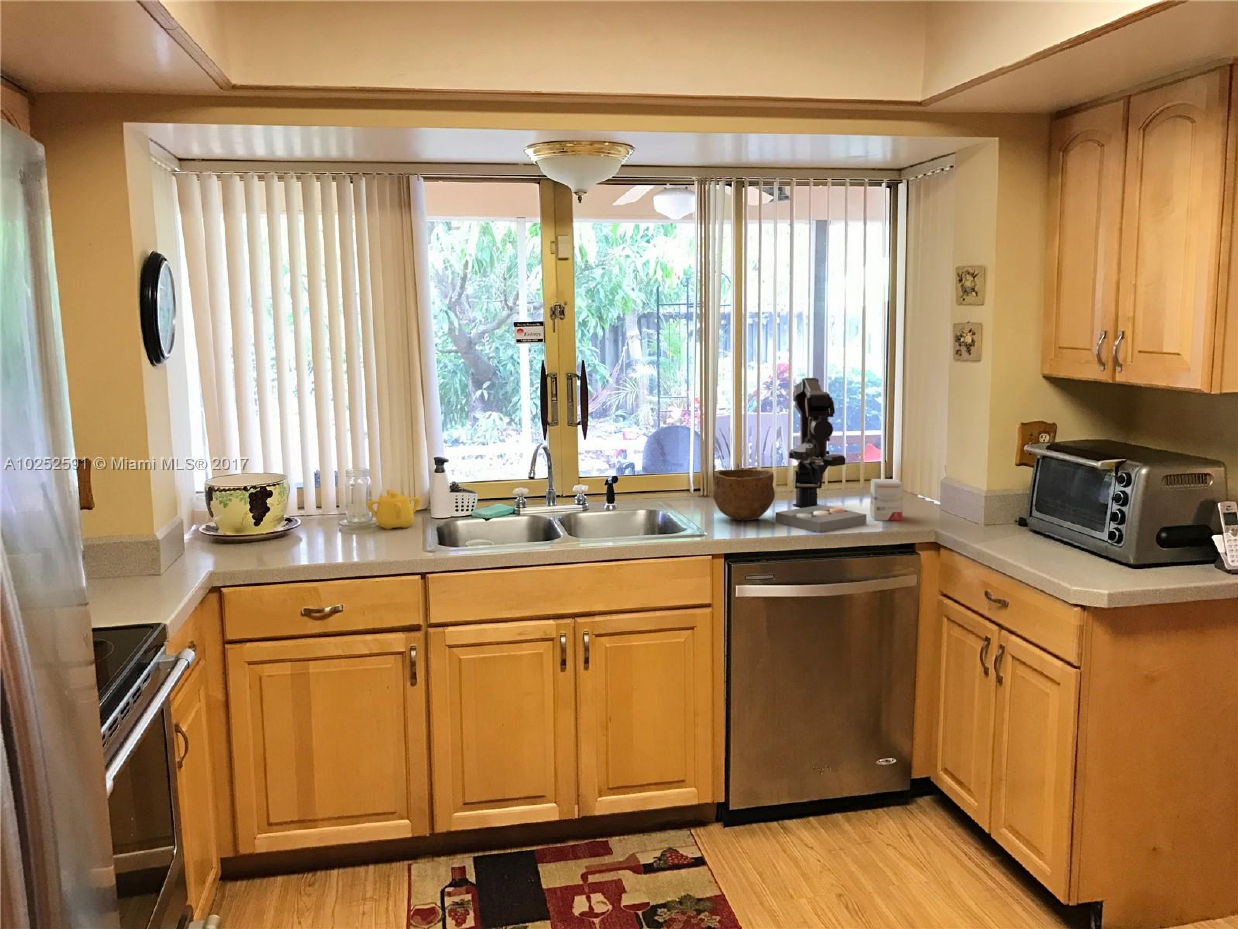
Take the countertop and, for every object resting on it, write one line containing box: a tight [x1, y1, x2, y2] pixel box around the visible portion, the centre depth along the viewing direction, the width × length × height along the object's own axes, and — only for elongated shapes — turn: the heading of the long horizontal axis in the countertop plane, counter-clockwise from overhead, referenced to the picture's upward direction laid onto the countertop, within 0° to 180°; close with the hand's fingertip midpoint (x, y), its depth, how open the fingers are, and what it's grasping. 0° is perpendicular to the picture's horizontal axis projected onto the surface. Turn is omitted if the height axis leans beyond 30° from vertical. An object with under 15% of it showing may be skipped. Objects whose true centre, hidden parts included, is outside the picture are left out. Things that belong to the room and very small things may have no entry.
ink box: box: [869, 478, 904, 521], centre depth 300 cm, size 9×9×12 cm
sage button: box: [797, 513, 812, 519], centre depth 289 cm, size 4×4×3 cm
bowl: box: [712, 468, 776, 521], centre depth 297 cm, size 19×19×15 cm
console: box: [774, 504, 867, 533], centre depth 293 cm, size 18×20×3 cm
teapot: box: [366, 489, 422, 530], centre depth 290 cm, size 14×13×10 cm
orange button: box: [830, 507, 846, 513], centre depth 297 cm, size 4×4×3 cm
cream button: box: [813, 511, 828, 516], centre depth 293 cm, size 4×4×3 cm
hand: (815, 484), depth 299 cm, fingers closed
